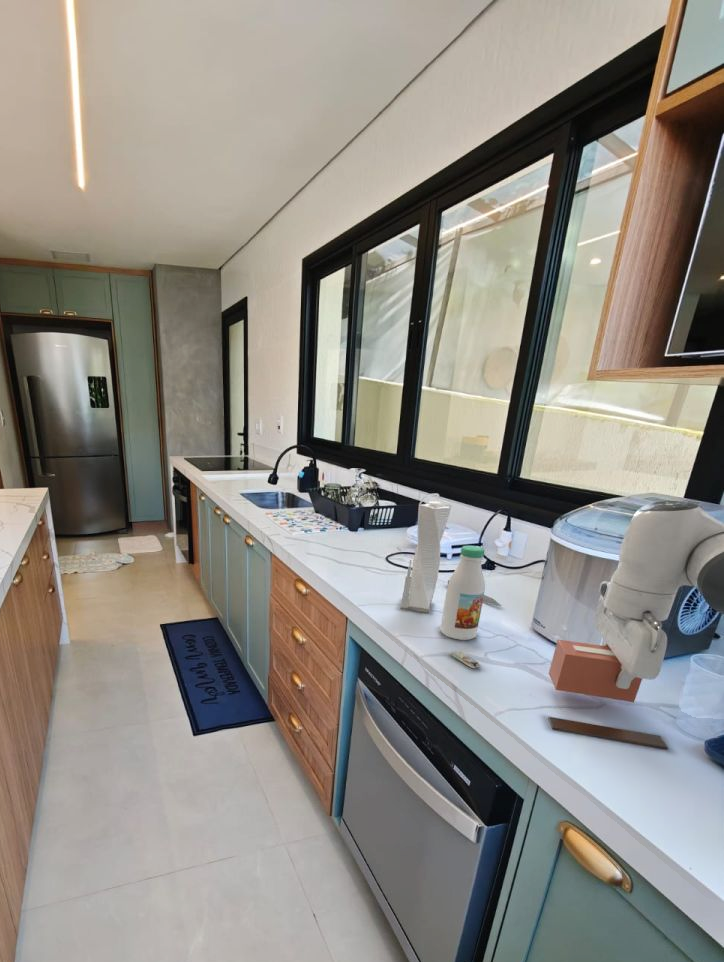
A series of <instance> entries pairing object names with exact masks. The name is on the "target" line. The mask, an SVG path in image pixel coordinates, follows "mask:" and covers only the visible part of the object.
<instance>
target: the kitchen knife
mask: <svg viewBox="0 0 724 962" xmlns="http://www.w3.org/2000/svg"><path fill="white" fill-rule="evenodd" d="M449 580H450V579H448V581H447V584H448V583H449ZM483 602H485V603H487V604H490V605H493V606H498V607H501V606H502V604H501V603H500V602H498V601H497V600H496V599H495V598H493V597H491V596H489V595H486V594H484V597H483Z"/></svg>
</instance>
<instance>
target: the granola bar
mask: <svg viewBox="0 0 724 962" xmlns="http://www.w3.org/2000/svg"><path fill="white" fill-rule="evenodd" d="M449 655H451V656H452V657H453V658H454V659H456V660H457V661H460V663H463V664H464V665H466V666H467V667H470V668H471V669H475V668H479V667H482V665H481V664H480V663H479V662H478V660H475V659H474V658H472V657H470V656H468V655H467V654H465V653H463V652H461V651H459V650H455V651H453V652H449Z"/></svg>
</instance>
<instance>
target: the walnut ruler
mask: <svg viewBox="0 0 724 962" xmlns="http://www.w3.org/2000/svg"><path fill="white" fill-rule="evenodd" d="M548 721H549V725H550V727H551V730H557V731H562V732H567V733H573V734H579V735H585V736H589V737H590V736H591V737H595V738H602V739H607V740H613V741H617V742H623V743H629V744H635V745H641V746H645V747H646V746H647V747H651V748H658V749H662V750H663V749H664V750H668V749H669V747H668V745H667V744H666V742H665V741H664V739H663V737H662V736H661V735H658V734H653V733H646V732H641V731H635V730H629V729H623V728H618V727H611V726H605V725H600V724H594V723H588V722H583V721H577V720H570V719H565V718H559V717H553V716H548Z"/></svg>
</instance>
